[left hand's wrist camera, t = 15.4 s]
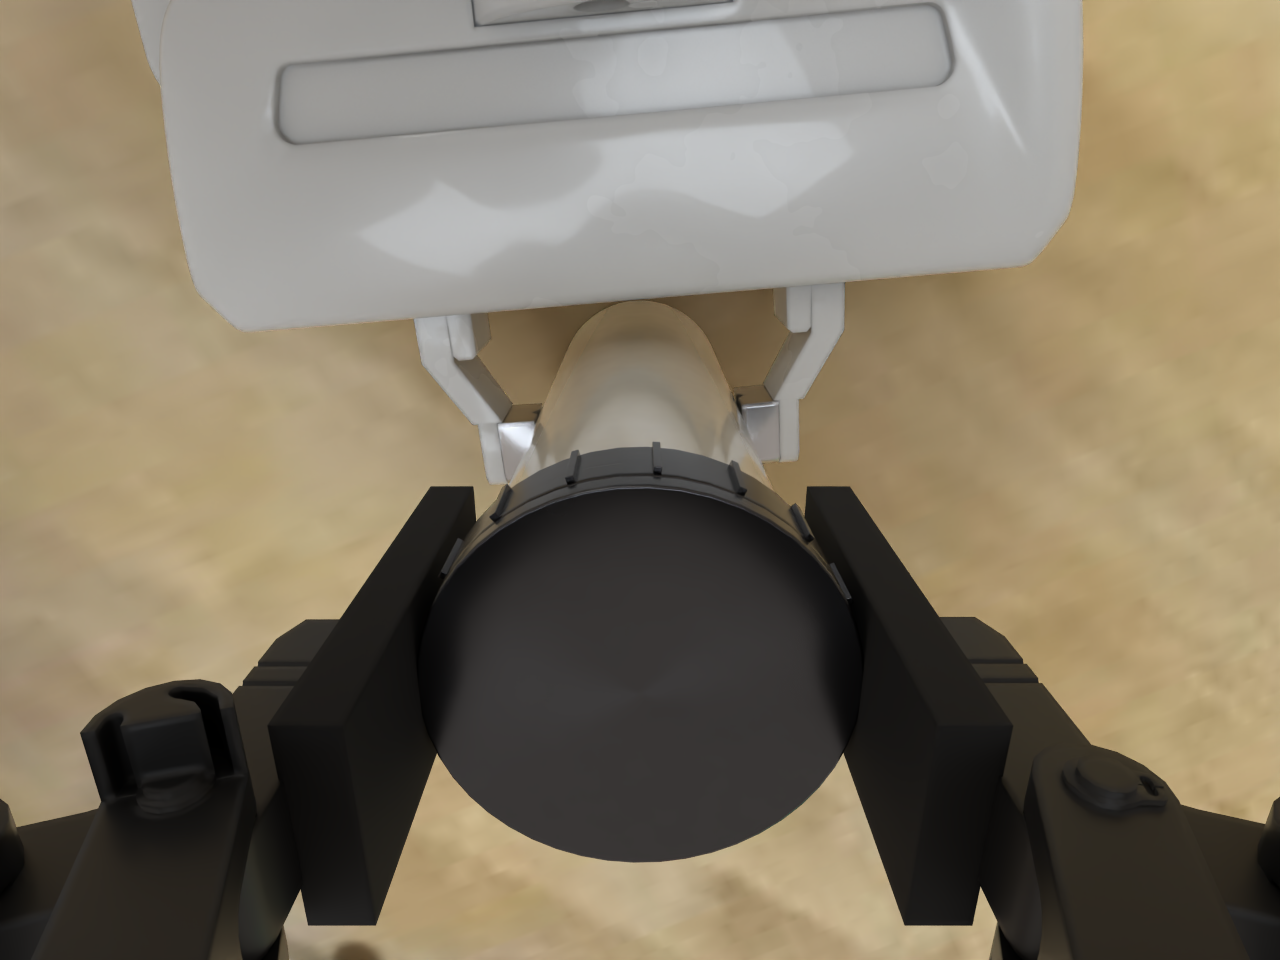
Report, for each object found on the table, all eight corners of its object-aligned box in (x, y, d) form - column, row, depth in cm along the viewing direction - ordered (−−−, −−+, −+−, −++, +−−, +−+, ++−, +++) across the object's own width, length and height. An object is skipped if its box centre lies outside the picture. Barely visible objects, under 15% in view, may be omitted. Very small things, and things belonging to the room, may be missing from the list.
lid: (424, 764, 13) (397, 838, 11) (454, 407, 11) (424, 443, 9) (788, 811, 13) (806, 890, 12) (888, 475, 11) (925, 521, 10)
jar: (553, 440, 28) (432, 799, 12) (573, 287, 26) (463, 464, 10) (701, 463, 28) (785, 845, 12) (732, 314, 26) (880, 529, 10)
